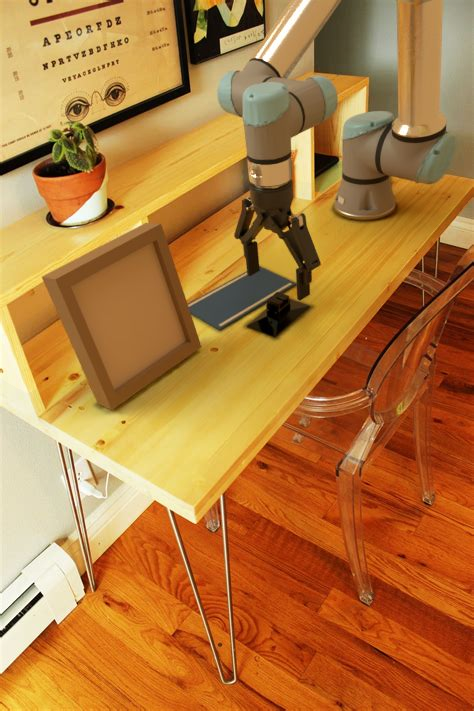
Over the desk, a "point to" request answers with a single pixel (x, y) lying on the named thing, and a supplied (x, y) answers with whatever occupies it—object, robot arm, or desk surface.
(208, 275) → the desk surface
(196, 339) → the photo frame
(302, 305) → the build plate
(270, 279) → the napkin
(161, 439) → the desk surface
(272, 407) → the desk surface
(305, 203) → the desk surface
